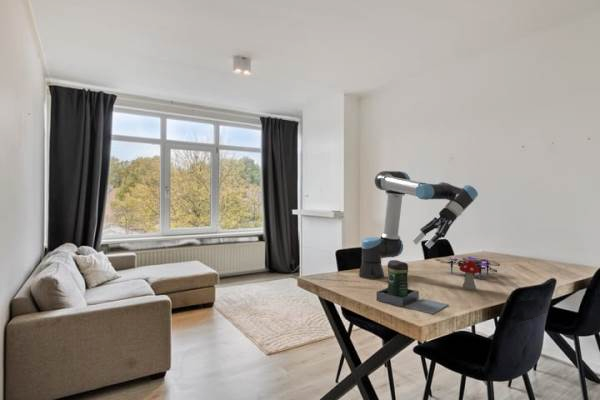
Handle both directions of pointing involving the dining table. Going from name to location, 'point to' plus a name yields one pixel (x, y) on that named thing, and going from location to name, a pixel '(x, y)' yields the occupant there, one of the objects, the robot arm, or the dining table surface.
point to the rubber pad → (427, 306)
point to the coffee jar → (397, 278)
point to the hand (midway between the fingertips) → (420, 244)
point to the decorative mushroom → (469, 274)
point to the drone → (478, 262)
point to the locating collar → (397, 300)
